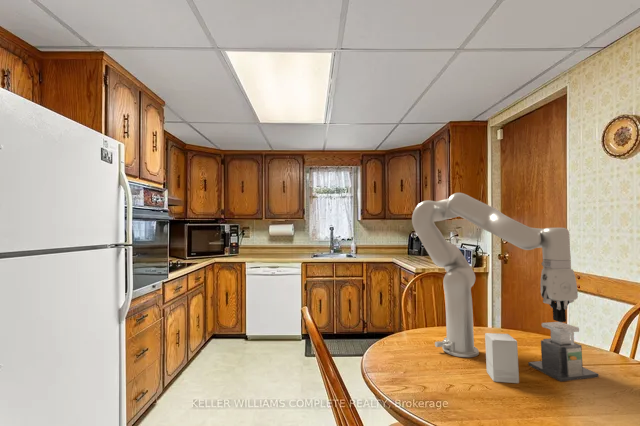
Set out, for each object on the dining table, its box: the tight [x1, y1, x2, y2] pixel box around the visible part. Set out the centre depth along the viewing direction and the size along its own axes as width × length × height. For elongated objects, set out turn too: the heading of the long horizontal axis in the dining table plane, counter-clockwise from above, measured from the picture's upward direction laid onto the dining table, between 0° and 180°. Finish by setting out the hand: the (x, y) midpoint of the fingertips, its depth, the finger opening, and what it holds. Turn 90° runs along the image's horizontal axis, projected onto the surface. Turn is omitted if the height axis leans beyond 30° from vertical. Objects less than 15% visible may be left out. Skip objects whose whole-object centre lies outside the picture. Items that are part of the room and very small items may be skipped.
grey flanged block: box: [541, 321, 580, 346], centre depth 105 cm, size 7×9×9 cm
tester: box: [527, 337, 600, 382], centre depth 106 cm, size 14×12×9 cm
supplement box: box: [484, 332, 520, 384], centre depth 103 cm, size 7×7×13 cm
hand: (559, 320), depth 107 cm, fingers closed
